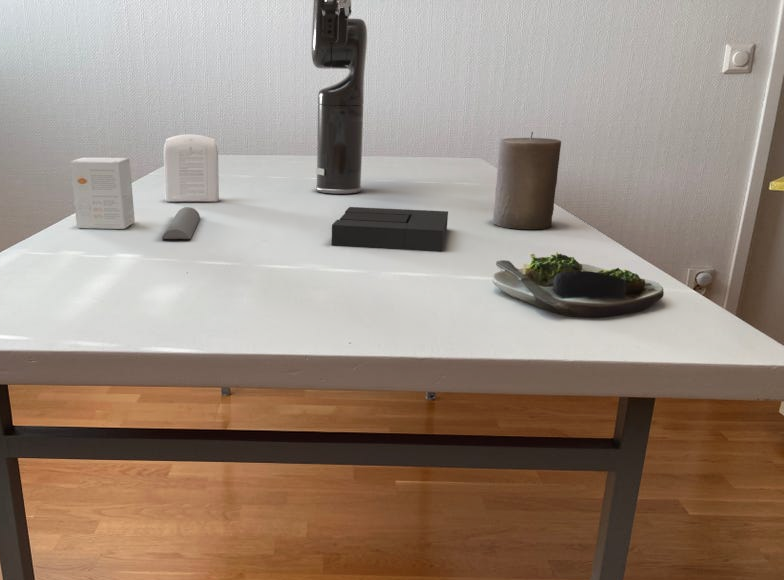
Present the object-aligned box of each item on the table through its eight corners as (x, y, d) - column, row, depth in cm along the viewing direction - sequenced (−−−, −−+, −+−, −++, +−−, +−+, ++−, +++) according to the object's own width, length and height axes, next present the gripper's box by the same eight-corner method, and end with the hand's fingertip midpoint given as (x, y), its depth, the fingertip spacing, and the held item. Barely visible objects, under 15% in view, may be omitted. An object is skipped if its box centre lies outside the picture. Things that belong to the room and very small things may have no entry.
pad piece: (345, 230, 124) (345, 211, 123) (408, 234, 122) (409, 214, 121) (338, 238, 118) (339, 218, 117) (404, 241, 116) (405, 221, 115)
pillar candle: (564, 228, 128) (576, 133, 122) (514, 231, 124) (524, 134, 119) (527, 217, 136) (537, 128, 131) (480, 221, 133) (488, 129, 128)
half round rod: (160, 241, 115) (160, 229, 114) (175, 217, 133) (175, 207, 133) (189, 241, 115) (189, 229, 115) (200, 217, 133) (200, 207, 133)
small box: (135, 223, 128) (131, 157, 124) (124, 229, 123) (119, 161, 119) (88, 221, 129) (82, 156, 125) (75, 228, 124) (69, 160, 120)
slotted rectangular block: (348, 225, 128) (349, 206, 127) (446, 229, 125) (448, 211, 124) (331, 245, 114) (331, 224, 113) (441, 251, 111) (443, 230, 110)
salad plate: (446, 282, 94) (449, 245, 93) (553, 266, 103) (557, 231, 101) (569, 327, 79) (575, 283, 77) (682, 303, 87) (690, 263, 85)
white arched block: (219, 199, 152) (217, 133, 148) (219, 202, 148) (218, 135, 144) (165, 199, 151) (162, 133, 146) (165, 203, 147) (161, 135, 143)
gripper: (355, -80, 112) (351, 42, 118) (368, -65, 125) (364, 44, 131) (304, -79, 113) (303, 41, 119) (322, -64, 126) (321, 44, 132)
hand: (335, 43), depth 125 cm, fingers open, 8 cm apart
